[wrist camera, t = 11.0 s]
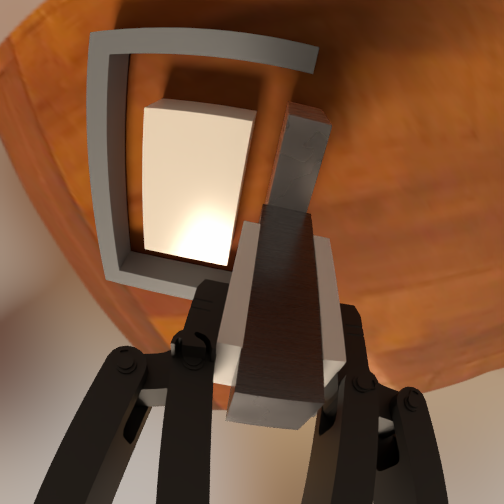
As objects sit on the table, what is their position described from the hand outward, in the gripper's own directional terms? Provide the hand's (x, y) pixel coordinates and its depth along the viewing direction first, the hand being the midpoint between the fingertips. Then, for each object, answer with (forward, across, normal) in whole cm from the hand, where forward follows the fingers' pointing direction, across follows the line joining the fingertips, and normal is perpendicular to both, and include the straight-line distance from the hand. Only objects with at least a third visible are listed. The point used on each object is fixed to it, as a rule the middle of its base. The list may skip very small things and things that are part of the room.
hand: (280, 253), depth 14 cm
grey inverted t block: (+6, 0, 0) cm, 6 cm away
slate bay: (+7, +6, 0) cm, 9 cm away
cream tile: (+7, +6, 0) cm, 9 cm away
